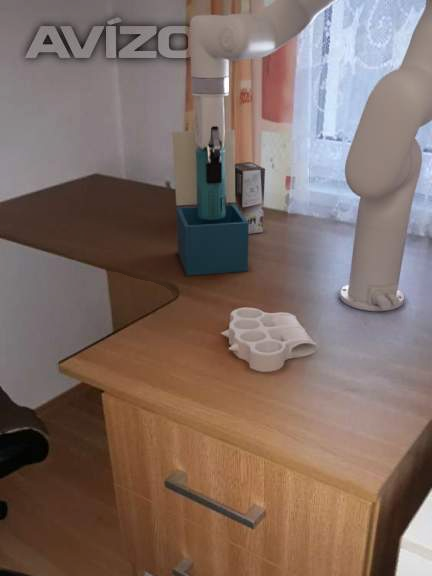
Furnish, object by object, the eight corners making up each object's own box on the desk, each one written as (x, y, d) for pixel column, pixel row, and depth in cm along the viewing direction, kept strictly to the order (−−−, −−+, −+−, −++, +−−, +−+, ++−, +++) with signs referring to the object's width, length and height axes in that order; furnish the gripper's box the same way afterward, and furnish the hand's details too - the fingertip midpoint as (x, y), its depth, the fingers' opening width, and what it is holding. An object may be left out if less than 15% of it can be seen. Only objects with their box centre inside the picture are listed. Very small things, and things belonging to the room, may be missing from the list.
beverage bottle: (223, 227, 133) (223, 129, 122) (193, 225, 134) (191, 128, 123) (228, 218, 138) (229, 124, 128) (200, 217, 139) (198, 123, 129)
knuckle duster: (322, 366, 100) (236, 376, 98) (288, 319, 115) (212, 326, 112) (324, 348, 98) (236, 358, 96) (289, 302, 113) (212, 310, 111)
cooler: (247, 271, 136) (248, 222, 130) (186, 275, 134) (185, 226, 128) (234, 248, 148) (234, 204, 142) (178, 252, 146) (176, 207, 140)
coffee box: (264, 232, 159) (266, 168, 150) (241, 235, 157) (242, 170, 148) (249, 222, 166) (251, 161, 157) (227, 225, 164) (228, 163, 155)
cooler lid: (234, 129, 135) (229, 128, 140) (172, 132, 133) (170, 130, 138) (235, 202, 142) (230, 198, 147) (176, 205, 140) (173, 201, 145)
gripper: (185, 82, 128) (188, 170, 138) (198, 92, 114) (200, 189, 123) (220, 81, 129) (220, 168, 139) (237, 91, 115) (236, 188, 124)
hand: (211, 178), depth 131 cm, fingers closed on beverage bottle, 6 cm apart
